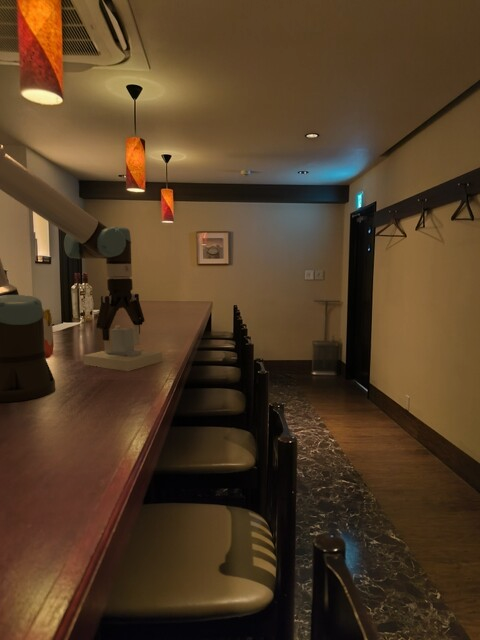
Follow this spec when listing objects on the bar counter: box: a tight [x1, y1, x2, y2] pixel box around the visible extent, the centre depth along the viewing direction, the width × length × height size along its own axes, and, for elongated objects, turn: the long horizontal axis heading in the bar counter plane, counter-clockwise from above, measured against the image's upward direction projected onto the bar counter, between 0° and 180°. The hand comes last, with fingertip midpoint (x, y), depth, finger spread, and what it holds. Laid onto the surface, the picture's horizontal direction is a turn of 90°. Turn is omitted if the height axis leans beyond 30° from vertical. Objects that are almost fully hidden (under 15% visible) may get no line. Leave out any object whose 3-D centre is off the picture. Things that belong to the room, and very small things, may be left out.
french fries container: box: [43, 308, 55, 358], centre depth 147 cm, size 5×11×18 cm, turn 14°
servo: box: [104, 324, 141, 357], centre depth 134 cm, size 4×12×12 cm, turn 60°
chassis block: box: [83, 348, 163, 372], centre depth 134 cm, size 15×19×3 cm
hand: (122, 347), depth 134 cm, fingers open, 11 cm apart
